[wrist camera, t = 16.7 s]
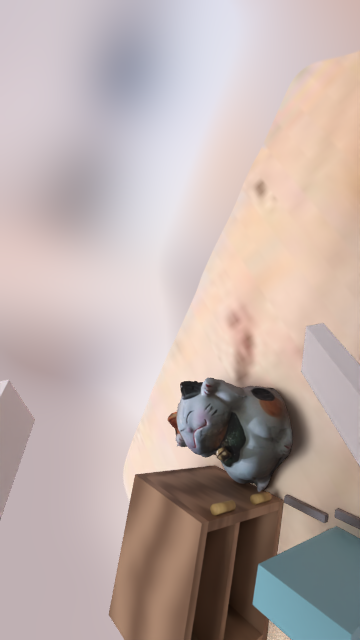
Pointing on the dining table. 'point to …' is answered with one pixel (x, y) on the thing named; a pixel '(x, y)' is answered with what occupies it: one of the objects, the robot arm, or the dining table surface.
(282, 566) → the light blue rectangular block
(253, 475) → the lucky cat figurine
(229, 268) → the dining table surface
